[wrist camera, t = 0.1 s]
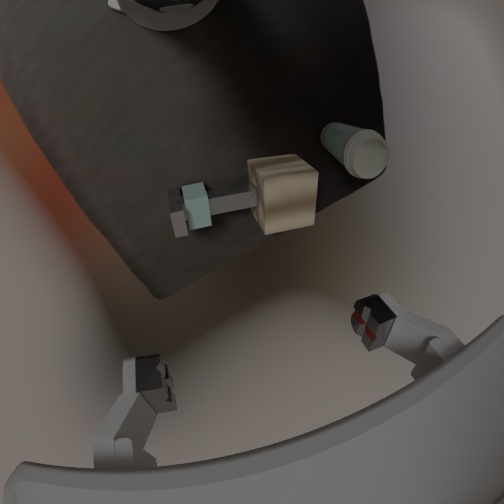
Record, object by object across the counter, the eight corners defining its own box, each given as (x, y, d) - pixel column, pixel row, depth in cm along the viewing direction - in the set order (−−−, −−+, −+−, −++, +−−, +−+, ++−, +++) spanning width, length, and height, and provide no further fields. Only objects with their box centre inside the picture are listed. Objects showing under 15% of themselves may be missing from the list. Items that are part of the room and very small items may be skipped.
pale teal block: (181, 186, 45) (184, 200, 41) (202, 182, 46) (207, 195, 42) (186, 213, 48) (189, 230, 44) (206, 209, 49) (211, 225, 45)
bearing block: (247, 159, 47) (263, 179, 40) (294, 153, 48) (318, 171, 42) (249, 209, 53) (265, 234, 46) (293, 201, 55) (314, 224, 48)
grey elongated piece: (167, 190, 45) (169, 213, 39) (269, 171, 49) (287, 190, 43) (172, 212, 48) (175, 237, 42) (270, 193, 52) (287, 214, 46)
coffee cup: (358, 133, 49) (398, 154, 40) (332, 164, 52) (369, 191, 43) (332, 106, 44) (374, 121, 35) (305, 140, 47) (340, 163, 38)
